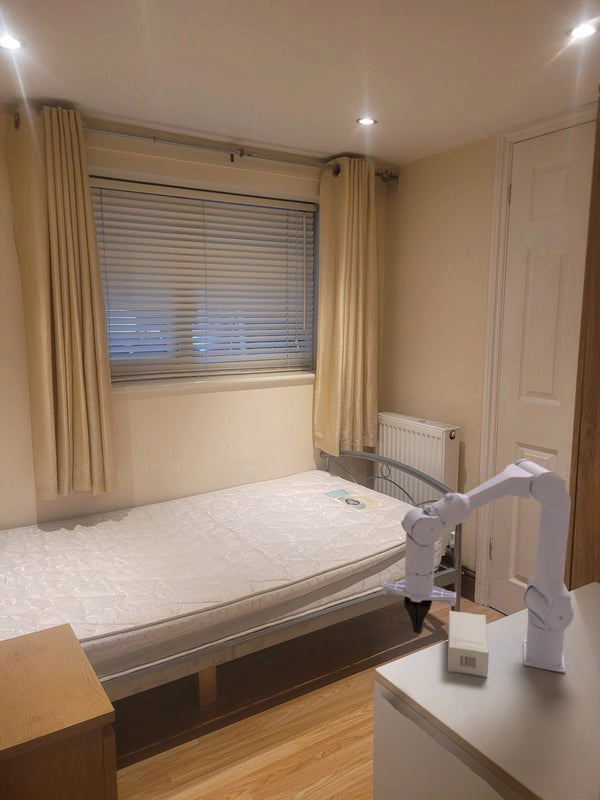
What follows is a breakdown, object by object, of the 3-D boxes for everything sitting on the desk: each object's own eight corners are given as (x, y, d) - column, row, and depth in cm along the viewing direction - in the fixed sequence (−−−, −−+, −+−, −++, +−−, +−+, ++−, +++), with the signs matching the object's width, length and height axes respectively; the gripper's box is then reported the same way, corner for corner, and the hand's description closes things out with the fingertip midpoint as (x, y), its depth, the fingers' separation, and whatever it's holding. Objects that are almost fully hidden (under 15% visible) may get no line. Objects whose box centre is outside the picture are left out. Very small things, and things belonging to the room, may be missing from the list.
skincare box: (487, 678, 119) (486, 638, 133) (489, 651, 118) (487, 614, 132) (445, 671, 121) (448, 632, 135) (446, 645, 120) (449, 608, 134)
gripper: (379, 572, 115) (378, 634, 118) (454, 583, 110) (452, 648, 113) (386, 557, 122) (385, 616, 124) (458, 567, 117) (455, 628, 119)
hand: (417, 630), depth 119 cm, fingers closed
